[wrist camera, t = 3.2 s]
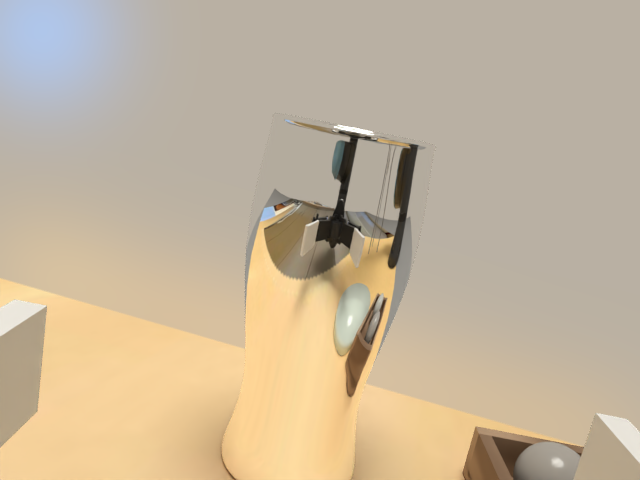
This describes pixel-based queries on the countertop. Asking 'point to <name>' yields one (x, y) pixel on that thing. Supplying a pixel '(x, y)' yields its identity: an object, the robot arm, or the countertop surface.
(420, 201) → the beer glass
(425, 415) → the countertop surface
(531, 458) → the pebble
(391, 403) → the countertop surface
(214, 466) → the countertop surface
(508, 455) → the parts tray
